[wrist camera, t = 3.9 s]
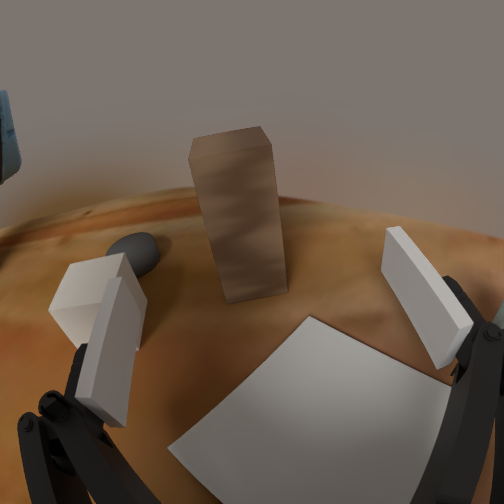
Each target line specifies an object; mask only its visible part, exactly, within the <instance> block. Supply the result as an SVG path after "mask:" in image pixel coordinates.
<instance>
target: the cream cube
mask: <svg viewBox="0 0 504 504" xmlns="http://www.w3.org/2000/svg"><path fill="white" fill-rule="evenodd" d="M117 277H122V278H123V280H124V281H125V283H126V285H127V287H128V289H129V291H130V293H131V295H132V297H133V299H134V301H135V302H136V304H137V306H138V308H139V310H140V312H141V313H142V318H141V324H140V329H139V335H138V340H137V346H136V351H137V350H139V348H140V342H141V336H142V329H143V324H144V318H145V312H146V307H147V301H148V300H147V298H146V296H145V294H144V292H143V290H142V288H141V286H140V284H139V282H138V280H137V278H136V276H135V274H134V272H133V270H132V267H131V265H130V263H129V261H128V259H127V257H126V254H125V252H124V253H119V254H114V255H110V256H105V257H100V258H96V259H91V260H87V261H82V262H78V263H73V264H70V266H69V268H68V270H67V272H66V273H65V275H64V277H63V279H62V282H61V284H60V286H59V288H58V290H57V292H56V294H55V296H54V298H53V300H52V303H51V305H50V307H49V309H48V311H49V312H50V314H51V315H52V316H53V318H54V319H55V320H56V322H57V323H58V325H59V326H60V327H61V328H62V330H63V331H64V332H65V334H66V335H67V336H68V338H69V339H70V340H71V341H72V343H73V344H74V345H75V346H76V347H77V349H78V348H79V347H80V345H81V344H82V343H88V342H89V339H90V335H91V332H92V329H93V325H94V322H95V319H96V316H97V313H98V310H99V306H100V303H101V300H102V297H103V294H104V292H105V289H106V286H107V283H108V280H109V279H112V278H117Z"/></svg>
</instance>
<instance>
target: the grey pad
mask: <svg viewBox="0 0 504 504" xmlns="http://www.w3.org/2000/svg"><path fill="white" fill-rule="evenodd" d="M451 388H452V387H450V386H448V385H446V384H443V383H441V382H439V381H437V380H435V379H433V378H431V377H429V376H427V375H425V374H423V373H421V372H419V371H417V370H414V369H412V368H410V367H408V366H406V365H404V364H402V363H400V362H398V361H396V360H394V359H392V358H390V357H388V356H386V355H384V354H382V353H380V352H378V351H376V350H374V349H372V348H370V347H368V346H366V345H364V344H362V343H360V342H358V341H357V340H355V339H353V338H351V337H349V336H347V335H345V334H343V333H341V332H339V331H337V330H335V329H333V328H331V327H329V326H328V325H326V324H324V323H322V322H320V321H318V320H316V319H314V318H312V317H310V316H308V318H307V319H306V320H305V321H304V322H303V323H302V324H301V325H300V326H299V327H298V328H297V329H296V330H295V331H294V332H293V333H292V334H291V335H290V336H289V337H288V338H287V339H286V340H285V341H284V342H283V343H282V344H281V345H280V346H279V347H278V348H277V349H276V350H275V351H274V352H273V353H272V354H271V355H270V356H269V357H268V358H267V359H266V360H265V361H264V362H263V363H262V364H261V365H260V366H259V367H258V368H257V369H256V370H255V371H254V372H253V373H252V374H251V375H250V376H249V377H248V378H246V379H245V380H244V381H243V382H242V383H241V384H240V385H239V386H238V387H237V388H236V389H235V390H234V391H232V392H231V393H230V394H229V395H228V396H227V397H226V398H225V399H224V400H223V401H221V402H220V403H219V404H218V405H217V406H216V407H215V408H214V409H212V410H211V411H210V412H209V413H208V414H207V415H206V416H204V417H203V418H202V419H201V420H200V421H199V422H198V423H196V424H195V425H194V426H193V427H192V428H190V429H189V430H188V431H187V432H186V433H184V434H183V435H182V436H181V437H180V438H178V439H177V440H176V441H175V442H174V443H172V444H171V445H170V446H169V447H167V448H168V450H169V451H170V452H171V453H172V454H173V455H174V456H175V457H176V458H177V459H178V460H179V461H180V462H181V463H182V465H183V466H184V467H185V468H186V469H187V470H188V471H189V472H190V473H191V474H192V475H193V476H194V477H195V478H196V479H197V480H198V481H199V482H200V483H201V484H203V485H204V486H205V487H206V488H207V489H208V490H209V491H210V492H211V493H212V494H213V495H214V496H215V497H217V498H218V499H219V500H220V501H221V502H222V503H223V504H410V502H411V500H412V498H413V496H414V493H415V491H416V489H417V487H418V485H419V482H420V480H421V478H422V475H423V473H424V471H425V468H426V466H427V463H428V461H429V458H430V455H431V453H432V450H433V447H434V445H435V442H436V439H437V436H438V433H439V430H440V427H441V424H442V420H443V417H444V414H445V410H446V407H447V403H448V399H449V396H450V392H451Z"/></svg>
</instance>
